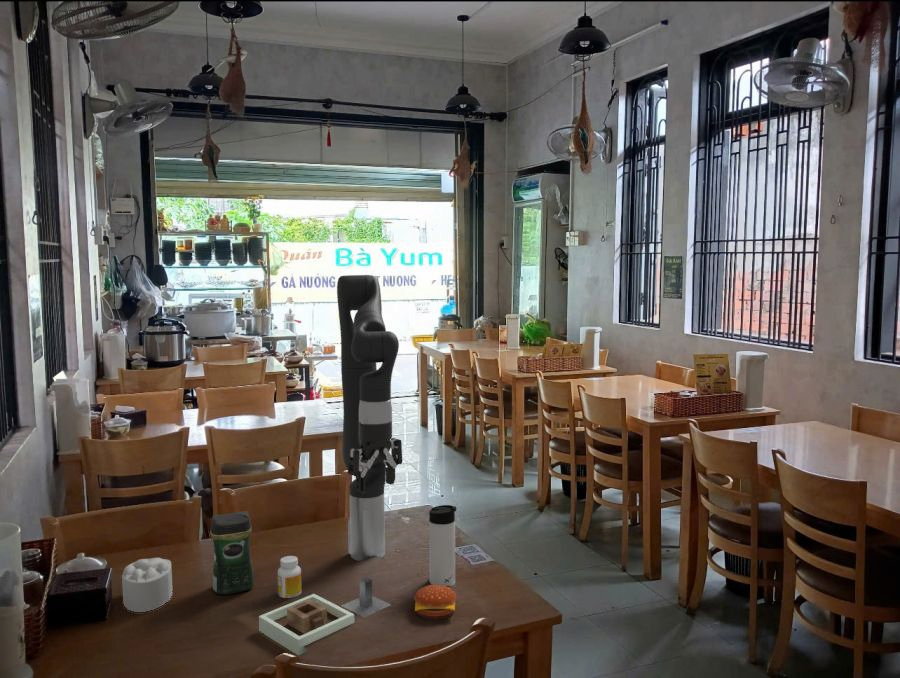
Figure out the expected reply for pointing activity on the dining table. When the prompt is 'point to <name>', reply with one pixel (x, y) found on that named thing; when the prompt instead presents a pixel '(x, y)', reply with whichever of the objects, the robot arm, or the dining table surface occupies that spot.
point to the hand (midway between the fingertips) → (375, 487)
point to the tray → (298, 642)
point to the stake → (365, 600)
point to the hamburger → (435, 602)
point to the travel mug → (442, 545)
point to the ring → (307, 616)
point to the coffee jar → (232, 553)
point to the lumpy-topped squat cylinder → (147, 584)
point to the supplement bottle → (289, 577)
